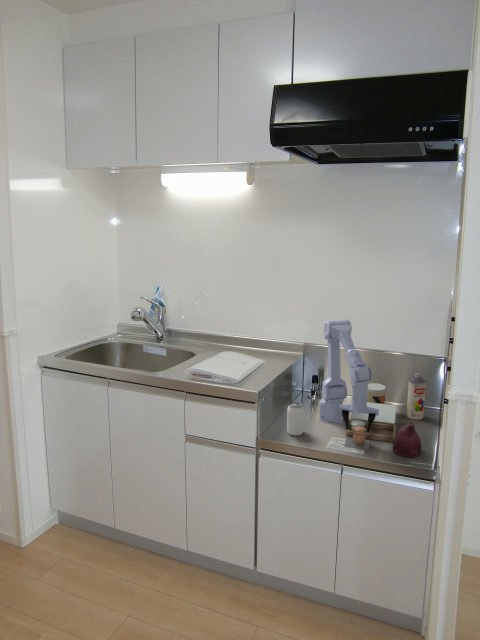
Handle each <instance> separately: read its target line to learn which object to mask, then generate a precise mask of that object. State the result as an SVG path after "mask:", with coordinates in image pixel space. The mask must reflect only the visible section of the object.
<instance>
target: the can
mask: <svg viewBox="0 0 480 640" xmlns="http://www.w3.org/2000/svg"><path fill="white" fill-rule="evenodd" d="M286 412H287V413H286V414H287V416H286V417H287V418H286V419H287V420H286V422H287V424H286V425H287V426H286V431H287V434H289V435H290V436H293V437H298V436H302V435H303V433H304V415H305V414H304V412H305V411H304V407H303V404H302V403H300V402H295V401H294V402H290V403H289V404H288V406H287V410H286Z"/></svg>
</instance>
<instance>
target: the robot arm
mask: <svg viewBox="0 0 480 640" xmlns="http://www.w3.org/2000/svg"><path fill="white" fill-rule="evenodd" d="M352 330H353V329H352V323H351V321H350V320H349V319H340V320H338V319H337V320H326V321H325V323H324V324H323V336H324V339H325V340H327V359H328V360H327V361H328V362H327V363H328V365H327V366H328V377H327V378H326V379H324V381H322V385H321V390H320V391H321V392H320V393H321V397H322V398H320V402H319V422H326V423H334V424H342V423H343V421H344V424H345V426H346V429H345V431H346V430H348V429H349V420H350V413H352V412H355V413H357V414H361V413H364V414H369V416H368V421H367V422H368V428H367V433H369V430H370V427H371V424H372V423H374V422H373V421H374V419H375V415H376V416H378V415H379V409H375V408H371V407H367V394H368V384H369V381H371V380H372V375H373V374H372V370H371V367H370V366H369V365H368V364H367V363H366V362H364V360H363V358H362V354H361V353H360V351H359V349H356V348H355V345H354V341H353V339H352V336H351V335H352ZM341 345H342V347H343V349H344V351H345V352H346V353H345V355H344V357H345V361H346V362H347V365H348V367H349V370H350V371H349V377H350V385H351V404H344V403H343V402H345V399H346V398H347V397H348V387H347V382H346V381H345V380H344V379H343V378H341V347H340V346H341Z"/></svg>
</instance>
